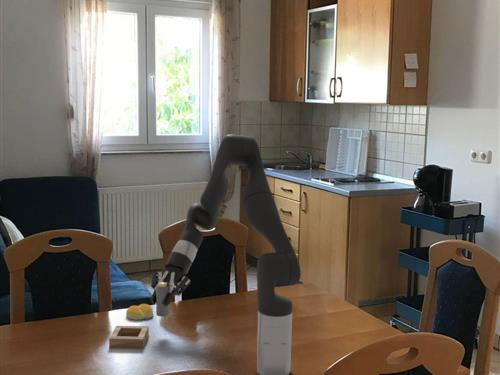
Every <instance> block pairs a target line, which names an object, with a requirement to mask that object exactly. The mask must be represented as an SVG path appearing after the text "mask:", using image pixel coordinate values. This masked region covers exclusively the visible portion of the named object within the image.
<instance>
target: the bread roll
mask: <svg viewBox="0 0 500 375" xmlns="http://www.w3.org/2000/svg"><path fill="white" fill-rule="evenodd" d="M125 315H126V318H128V319H130V320H132V321H140V320H141V321H142V320H148V319H151V318H153V317H154V311H153V307H152V306H151V305H150V304H147V303H141V304H139V305H131V306H129V307H128V308H127V309H126V312H125Z"/></svg>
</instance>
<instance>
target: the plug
mask: <svg viewBox="0 0 500 375" xmlns="http://www.w3.org/2000/svg"><path fill="white" fill-rule="evenodd" d="M169 287H170V286H169V285H167V283H166V282H160V283H158V286H156V304H155V306H156V307H155V309H156V311H155V312H156V313H155V314H156V316H157V317H160V318H161V317H168V316H169V315H170V304H169V305H168V306H164V305H163V304H162V302H163V300H164V298H165V296H166V294H167V293H169V292H168V291H169Z"/></svg>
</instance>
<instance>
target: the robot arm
mask: <svg viewBox="0 0 500 375" xmlns="http://www.w3.org/2000/svg"><path fill="white" fill-rule="evenodd" d="M229 165H233V166H243V167H244V168H246V171H247V181H246V184H245V186H244V188H243V191H242V195H241V205H242V208H243V211H244V214H245V217H246V220H247V222H248V223H249V224H250V225H251V226H252V228H253V229H255V230H256V231H257V232H258V233H259V234H260V235H261V236H262V237H263V238H265V239H266V240H267V241H268V242H269V243H270V245H271V246H272V248H273V250H274V252H266V253H262V254H260V255H259V257H258V259H257V262H256V285H257V286H256V287H257V289H256V290H257V291H256V292H257V294H256V295H257V298H256V299H257V306H258V308H257V309H258V311H257V340H256V343H257V345H256V350H257V351H256V372H257V374H259V375H289V374H290V373H291V367H292V366H291V362H292V361H291V360H292V358H291V357H292V356H291V355H292V354H291V353H292V334H293V333H292V329H293V328H292V327H293V325H292V324H293V301H292V300H291V299H290V298H288V297H287V296H282V295H280V294H276V292H275V291H276V290H275V289H276V288H282V287H283V288H284V287H290V286H291V287H292V286H294V285H295V286H296V285H297V284H298V283H299V282H300V279H301V275H302V272H301V266H300V261H299V259H298V256H297V254H296V251H295V249H294V248H293V245H292V243H291V241H290V239H289V236H288V234H287V232H286V230H285V228H284V224H283V222H282V219H281V217H280V214H279V209H278V207H277V204H276V201H275V198H274V195H273V193H272V191H271V188H270V187H271V186H270V184H269V181H268V179H267V176H266V172H265V169H264V164H263V159H262V155H261V151H260V146H259V144H258V142H257V140H256V139H255V138H254V137H252V136H248V135H242V134H231V133H230V134H227V135H225V136H224V137H223V138H222V140H221V141H220V145H219V147H218V150H217V153H216V157H215V160H214V163H213V167H212V169H211V175H210V177H209V180H208V182H207V183H206V186H205V189H204V190H203V192H202V193H201V194H202V195H201V196H200V200H199V202H200V203H198V202H195V203H192V204H191V205H190V206H189V208H188V210H187V214H186V219H185V226H184V228H183V230H182V233H181V234H180V236H179V239H178V241H177V243H176V244H175V246H174V247H173V249H172V251H171V253H170V254H169V256H168V258H167V261H166V262H165V267H164V268H163V270H161V271H160V272H159V271H158V272H157V271H156V270H154V271H153V274H152V279H151V282H150V283H151V285H150V287H151V289H153V290H154V291H153V292H152V294H151V296H150V302H151V303H152V304H154V305H156V286H158V283H160V282H166V283H167V285H168V286H169V291H168V292H169V293H167V294H166V296H165V298H164V300H163V302H162V304H163V305H164V306H168V305H169V306H170V304H171V302H172V299H173V298H174V297H175V296H180V295H182V294H183V292H184V291H185V290H186V289H187V288H188V286H190V284H191V279H189V278H188V277H187V276H186V275H187V274H188V273H189V270H190V268H191V267H192V264H193V262H194V260H195V258H196V256H197V252H198V250H199V248H200V246H201V244H202V242H203V240H204V234H203V232H201V231H200V230H199V229H198V228H197V227H199V228H201V229H203V230H205V231H212V230H213V229H214V228H215V227H216V225H217V223H218V219H219V211H220V207H221V205H222V203H223V202H224V200H225V198H226V196H227V193H228V190H229V185H228V180H227V177H226V170H227V168H228V166H229ZM196 226H197V227H196Z"/></svg>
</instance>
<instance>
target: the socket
mask: <svg viewBox="0 0 500 375" xmlns="http://www.w3.org/2000/svg"><path fill="white" fill-rule="evenodd" d="M149 328H150V327H149V326H147V325H146V326H145V325H142V326H141V325H116V326H115V327H114V329H113V331H112V333H111V335H110V336H109V338H108V348H109V349H129V350H130V349H131V350H132V349H133V350H134V349H137V350H138V349H139V350H140V349H141V350H144V347H145V345H146V342H147V340H148V337H149V332H150V331H149Z"/></svg>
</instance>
